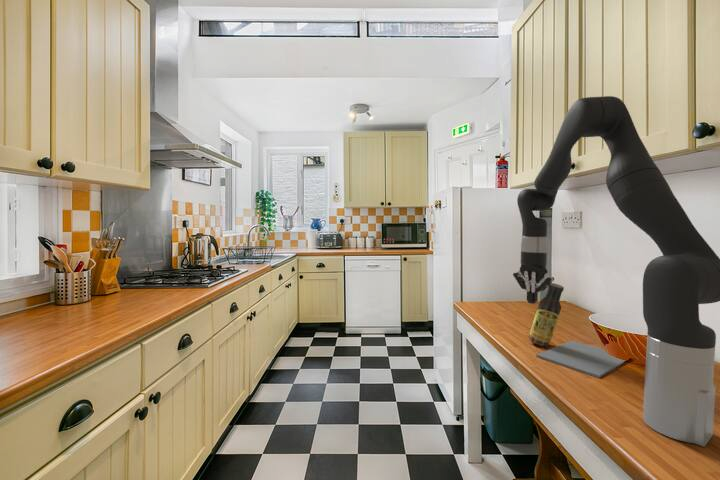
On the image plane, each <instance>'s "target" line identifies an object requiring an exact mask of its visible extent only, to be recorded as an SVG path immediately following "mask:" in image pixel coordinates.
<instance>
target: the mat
mask: <svg viewBox="0 0 720 480" xmlns="http://www.w3.org/2000/svg"><path fill="white" fill-rule="evenodd" d="M604 349H605V348H601V347H597V346H594V345H590V344H586V343H583V342H579V341H576V340H569V341H567V342H564V343H561V344H559V345H558V346H557V345H556V346H555V347H552V348H549V349H547V350H544V351H542V352H540V353H537V354H536V355H535V357H536V358H539V359H542V360H545V361H548V362H551V363H554V364H557V365H560V366H562V367H566V368H569V369H572V370H574V371H578V372H581V373H583V374H586V375H589V376H593V377H595V378H598V379H600V378H602V377H603V376H604V375H606V373H607V374H608V373H610V372H611V371H613V370H615V369H617V368H618V366H619V365H620V366H622V365H624V364H625V363H626V362H625V360H622V359H619V358H616V357H614V356H611V355H609V354H608V353H607V352H606V351H605V350H606V349H605V350H604ZM624 362H625V363H624ZM623 363H624V364H623ZM621 364H622V365H621ZM620 366H619V367H620ZM616 367H617V368H616Z"/></svg>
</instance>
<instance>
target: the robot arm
mask: <svg viewBox="0 0 720 480" xmlns="http://www.w3.org/2000/svg"><path fill="white" fill-rule="evenodd" d="M631 116H632V115H630V112H629V110H628V108H627V106H626V104H625V103H624V101H623V100H622V99H620V98H619V97H617V96H612V95H609V96H608V95H605V96H588V97H582V98H579V99H577V100H576V101H575V102H573V103H572V105H570V107H569V109H568V110H567V113H566V115H565V117H564V119H563V121H562V123H561V126H560V127H559V128H560V129H559V131H558V133H557V135H556V138H555V141H554V144H553V146H552V149H551V151H550V154H549V156H547V157H548V158H547V160H546V161H545V163H544V165H543V166H542V167H541V169H540V171H539V172H538V174H537V176H536V177H535V179H534V181H533V182H534V184H533V185H534V188H523V189H522V190H521V191H520V192H519V193H518V195H517V207H518V211H519V215H520V218H521V222H522V223H521V224H522V237H521V243H520V267H519V270H518V271H517V272H513V274H512V275H513V277H514V279H515V281H516V282H517V283H518V285H519V287H520V288H521V289H522V290H525V291H526V301H527V303H528V304H532V305H535V304H536V303H537V302H538V297H539V296H538V295H539V292H543V291H545V290H546V289H547V288H548V286H549V284H550V283H554V281H555V277H553V276H551V275H550V274H548V270H547V265H548V264H547V258H548V240H547V239H548V238H547V237H548V235H547V233H548V221H547V220H546V219H544V218H541V217H537V216H535V214H534V212H535V211H536V212H544V211H548V210H550V209H551V208H553V206H554V204H555V202H556V197H557V195H558V191H559V189H560V187H561V186H562V184H563V183H564V182H565V181H566V180H567V178H568V177H569V175H570V172H571V169H572V164H573V163H572V161H573V160H572V149H573V148H574V146H575V145H576V144H577V143H578V141H579V140H580V139H581V138H596V137H600V138H602V140H603V141H604V142H605V144H606V145H607V148H608V150H609V153H610V159H609V164H608V167H607V171H606V175H605V184H606V188H607V189H608V192H609V194H610V196H611V197H612V200H613V201H614V204H615V205H616V206H617V208H618V210H619V212H621V213H622V214H623V215H624V216H625V217H626V218H627V219H628V220H629V221H630V222H632V223H633V224H634V225H635V226H636V227H637V228H639V229H640V230H641V231H643V232H644V233H645V234H646V235H648V236H649V237H650V238H651V240H653V242H654V244H656V246H657V247H658V249H659V250H660V252H661V254H662V255H660V256H657V257H655V258H654V259H651V260H650V261H649V262H648V264H647V265H646V267H645V270H644V272H643V277H642V315H643V319H644V322H645V324H646V327H647V337H646V350H645V351H646V354H645V371H644V373H645V374H644V393H643V407H642V420H643V422H644V423H645V424H646V425H647V426H648V427H649V428H650V429H652V430H654V431H655V432H657V433H659V434H661V435H664V436H666V437H668V438H670V439H675V440H677V441H682V442H684V443H690V444H695V445H698V446H700V447H704V448H705V447H706V446H707V444H708V443H709V442H710V440H711V438H712V437H713V434H714V420H715V419H714V418H715V403H716V402H715V401H716V389H717V387H716V385H715V384H714V371H715V370H714V369H715V356H716V342H717V335H716V332H715V330H714V329H713V328H711V327H710V326H707V325H705V324H703V323H702V322H701V321H700V312H699V311H700V306H699V305H707V304H715V303H718V302H720V257H719V256H718V255H717V252H715V251H714V250H713V248H712V247H711V245H709V243H708V242H707V241H706V240H705V239H704V237H703V236H702V235H701V234H700V233H699V231H698V230H697V228H696V227H695V226H694V224H693V223H692V221H691V220H690V218H689V216H688V214H687V213H686V211H685V210H684V208H683V207H682V205H681V203H680V202H679V200H678V199H677V197H676V195H675V194H674V193H673V191H672V189H671V187H670V185H669V184H668V182H667V180H666V178H665V177H664V175H663V173H662V171H661V170H660V168H659V167H658V166H657V165H656V162H655V161H654V160H653V158H652V157H651V155H650V153H649V151H648V150H647V147H646V146H645V144H644V142H643V141H642V139H641V137H640V135H639V133H638V131H637V128H636V126H635V123H634V122H633V119H632V117H631ZM542 280H543V281H542Z"/></svg>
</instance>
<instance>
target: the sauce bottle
mask: <svg viewBox="0 0 720 480" xmlns="http://www.w3.org/2000/svg"><path fill="white" fill-rule="evenodd" d="M547 288H548V289H547V292H546V294H545V296H544V297H543V298H542V299H541V300H540V301H539V304H538V307H537V309H536V312H535V315H534V318H533V321H532V326H531V327H530V328H531V329H530V330H529V336H528V339H529V341H530V342H531V343H533V344H535V345H537V346H542V347H547V346H549V345H550V343H551V342H552V338H553V335H554V332H555V329H556V327H557V324H558V320H559V317H560V313H561V310H562V305H561V301H560V300H561V296H562V294H563V292H564V289H565V287H564V286H563V285H560V284H558V283H554V282H552V283H550V284H549V286H548V287H547Z"/></svg>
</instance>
